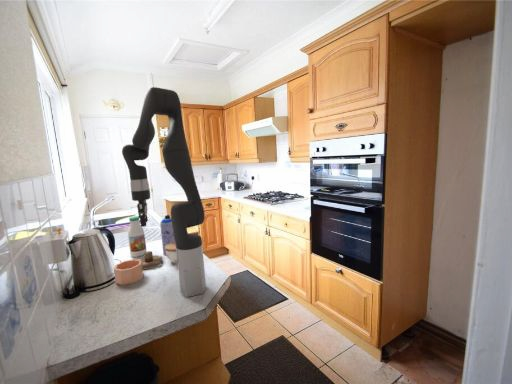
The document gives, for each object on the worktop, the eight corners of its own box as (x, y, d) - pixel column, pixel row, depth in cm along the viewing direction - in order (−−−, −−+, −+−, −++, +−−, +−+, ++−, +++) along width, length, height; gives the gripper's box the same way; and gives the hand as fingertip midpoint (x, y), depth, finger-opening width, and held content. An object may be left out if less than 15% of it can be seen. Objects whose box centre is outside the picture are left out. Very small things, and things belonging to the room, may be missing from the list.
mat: (161, 266, 118) (161, 265, 118) (135, 271, 114) (135, 269, 114) (161, 257, 128) (161, 256, 128) (137, 261, 124) (137, 260, 124)
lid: (162, 265, 117) (161, 254, 116) (134, 270, 114) (133, 259, 113) (162, 256, 128) (161, 246, 127) (137, 260, 124) (135, 250, 124)
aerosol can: (179, 254, 131) (175, 216, 128) (163, 257, 129) (159, 218, 125) (178, 249, 139) (174, 212, 136) (162, 251, 136) (158, 214, 133)
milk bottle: (127, 256, 132) (122, 218, 129) (139, 250, 139) (134, 214, 136) (138, 257, 129) (133, 219, 126) (150, 252, 136) (145, 215, 133)
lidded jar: (183, 265, 117) (181, 246, 116) (162, 264, 119) (159, 245, 118) (193, 256, 127) (191, 238, 126) (173, 255, 130) (171, 237, 128)
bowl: (141, 281, 104) (140, 267, 104) (114, 286, 101) (112, 272, 100) (143, 270, 114) (142, 258, 113) (118, 275, 111) (116, 262, 110)
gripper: (148, 190, 110) (152, 226, 113) (150, 186, 124) (153, 219, 126) (129, 191, 108) (133, 229, 110) (132, 188, 121) (137, 221, 123)
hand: (144, 224), depth 118 cm, fingers open, 8 cm apart
